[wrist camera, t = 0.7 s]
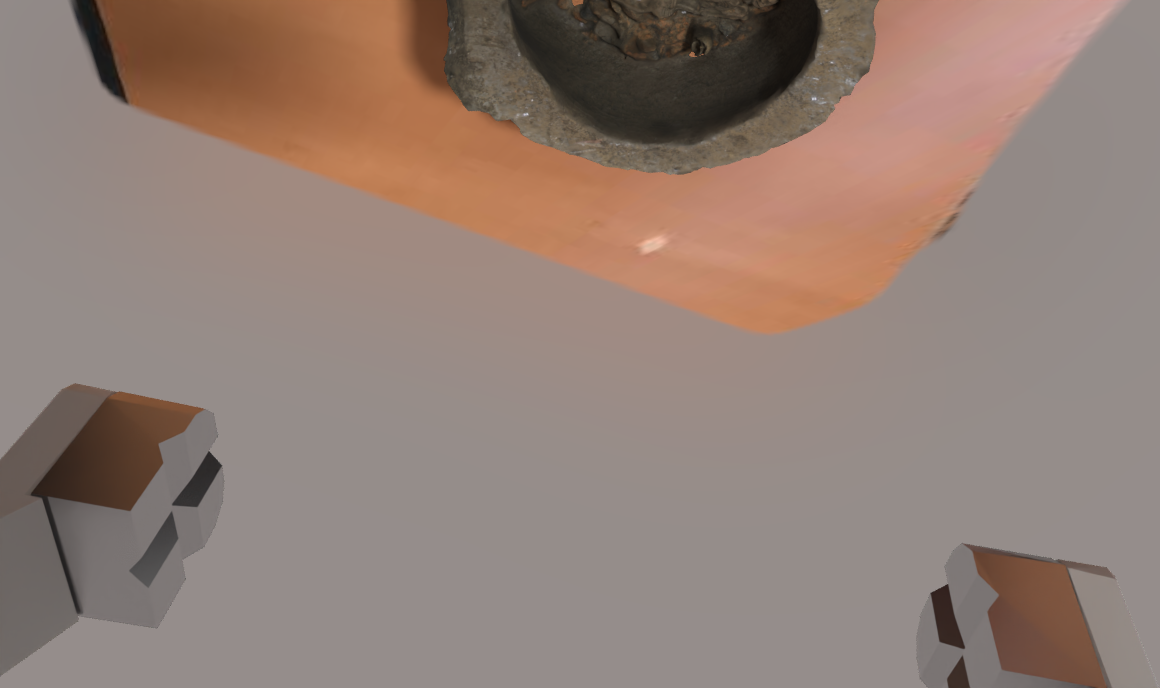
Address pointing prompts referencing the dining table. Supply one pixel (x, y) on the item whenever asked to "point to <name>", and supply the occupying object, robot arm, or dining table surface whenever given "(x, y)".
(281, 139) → the dining table surface
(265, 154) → the dining table surface
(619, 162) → the stone bowl
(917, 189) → the dining table surface
